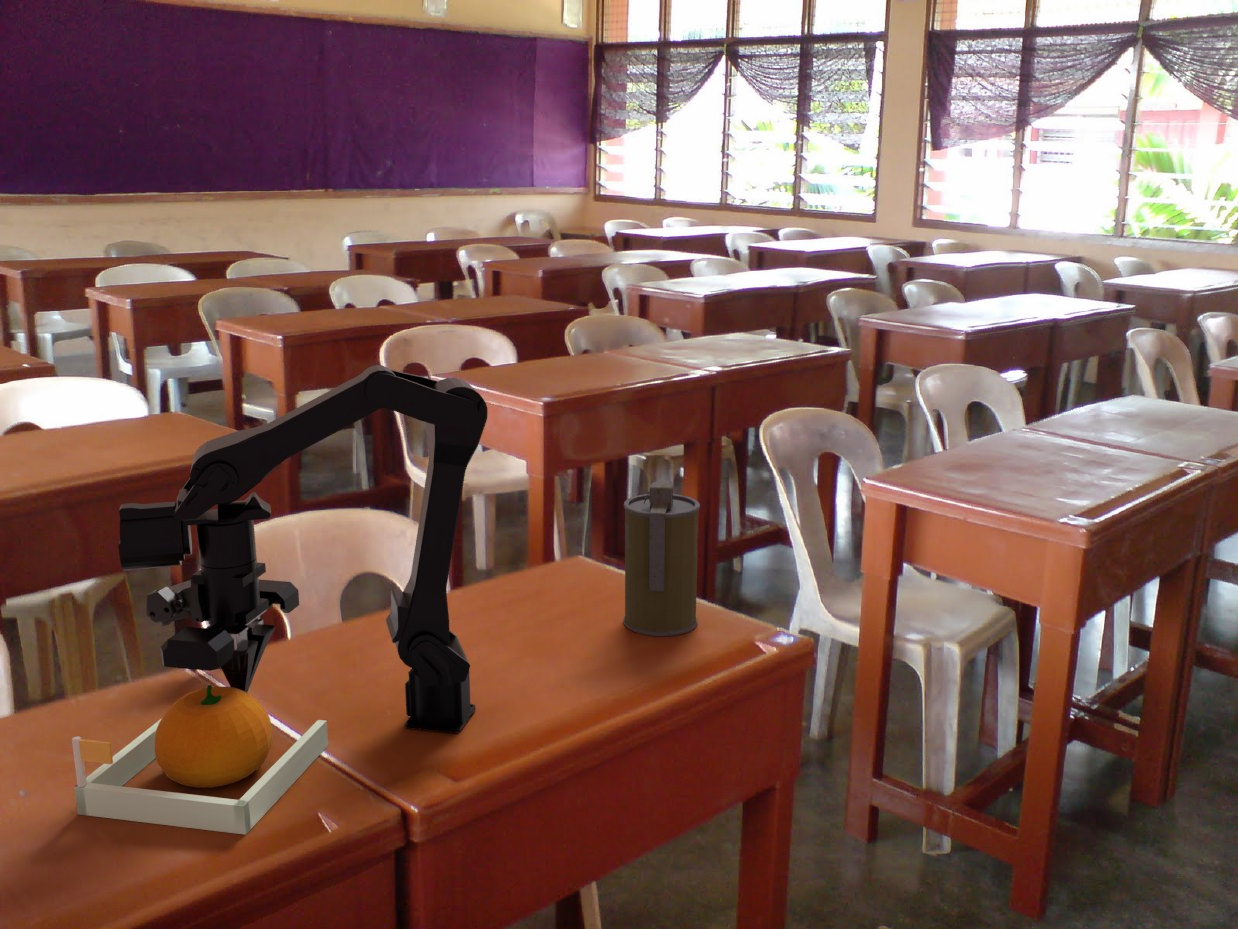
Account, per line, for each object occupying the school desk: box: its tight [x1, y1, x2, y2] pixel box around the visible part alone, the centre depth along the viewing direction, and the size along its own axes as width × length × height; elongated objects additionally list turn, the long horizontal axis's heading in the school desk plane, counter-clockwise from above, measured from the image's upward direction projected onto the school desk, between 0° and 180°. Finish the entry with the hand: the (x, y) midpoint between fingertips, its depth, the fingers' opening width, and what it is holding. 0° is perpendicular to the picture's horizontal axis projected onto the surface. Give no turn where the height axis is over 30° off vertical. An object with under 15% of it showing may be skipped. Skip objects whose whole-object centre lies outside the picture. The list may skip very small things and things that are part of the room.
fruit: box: [155, 684, 274, 789], centre depth 121 cm, size 12×12×10 cm
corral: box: [71, 717, 329, 836], centre depth 120 cm, size 18×18×8 cm
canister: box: [622, 480, 701, 637], centre depth 160 cm, size 11×10×20 cm
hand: (240, 695), depth 126 cm, fingers closed
